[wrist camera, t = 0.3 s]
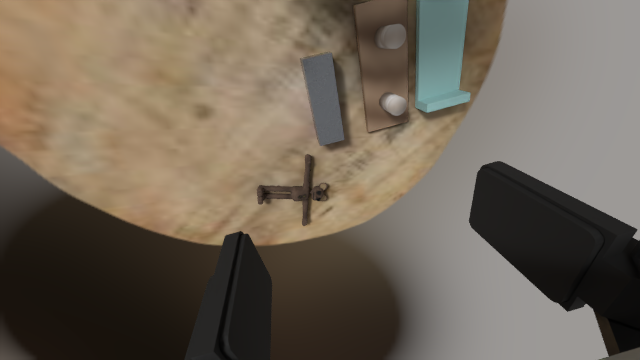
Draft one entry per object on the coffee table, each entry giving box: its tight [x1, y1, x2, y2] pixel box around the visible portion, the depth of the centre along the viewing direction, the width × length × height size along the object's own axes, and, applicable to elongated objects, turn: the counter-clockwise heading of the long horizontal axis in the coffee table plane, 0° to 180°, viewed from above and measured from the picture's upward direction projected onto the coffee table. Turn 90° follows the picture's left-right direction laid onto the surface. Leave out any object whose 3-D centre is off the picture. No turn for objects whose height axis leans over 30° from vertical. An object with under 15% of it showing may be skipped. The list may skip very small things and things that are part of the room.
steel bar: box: [300, 52, 344, 146], centre depth 39 cm, size 14×4×4 cm, turn 11°
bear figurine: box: [257, 154, 327, 226], centre depth 48 cm, size 18×4×14 cm
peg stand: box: [353, 0, 408, 132], centre depth 37 cm, size 20×8×6 cm, turn 12°
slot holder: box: [415, 0, 470, 113], centre depth 37 cm, size 20×8×4 cm, turn 12°
